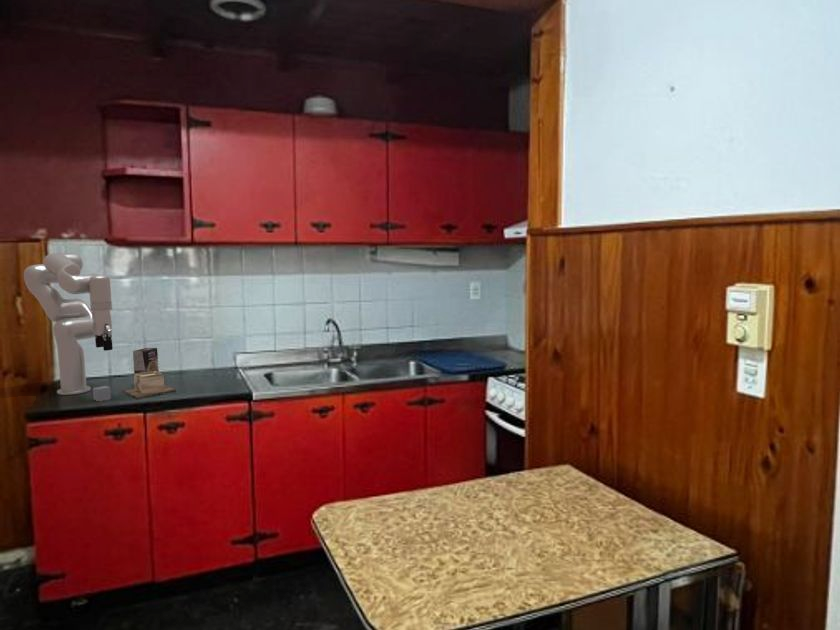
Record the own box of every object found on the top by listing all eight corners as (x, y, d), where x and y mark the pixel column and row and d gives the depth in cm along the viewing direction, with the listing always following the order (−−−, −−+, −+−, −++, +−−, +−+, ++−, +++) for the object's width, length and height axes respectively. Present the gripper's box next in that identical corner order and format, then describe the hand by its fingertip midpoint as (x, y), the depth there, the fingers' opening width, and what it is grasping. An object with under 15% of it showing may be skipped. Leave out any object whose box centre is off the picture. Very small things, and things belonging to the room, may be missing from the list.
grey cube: (93, 399, 245) (92, 387, 245) (107, 397, 249) (106, 385, 248) (97, 402, 242) (96, 389, 241) (111, 399, 245) (110, 387, 245)
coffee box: (147, 387, 266) (144, 351, 264) (134, 386, 268) (131, 350, 266) (160, 382, 275) (157, 347, 273) (147, 382, 276) (145, 347, 275)
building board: (123, 392, 257) (121, 374, 256) (161, 386, 268) (160, 368, 267) (136, 399, 245) (135, 379, 244) (176, 391, 256) (174, 373, 255)
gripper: (84, 305, 245) (87, 347, 248) (97, 308, 233) (100, 352, 235) (104, 304, 251) (107, 344, 253) (118, 307, 238) (121, 350, 240)
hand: (104, 348), depth 244 cm, fingers open, 9 cm apart
